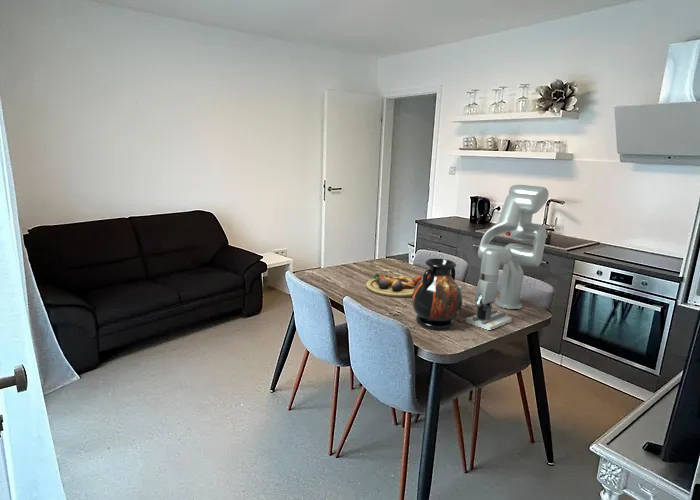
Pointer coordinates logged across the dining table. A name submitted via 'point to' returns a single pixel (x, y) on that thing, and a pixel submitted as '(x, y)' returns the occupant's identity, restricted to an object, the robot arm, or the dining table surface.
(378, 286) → the wooden plate with food
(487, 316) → the fader knob
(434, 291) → the amphora vase
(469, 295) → the dining table surface
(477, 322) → the fader console
